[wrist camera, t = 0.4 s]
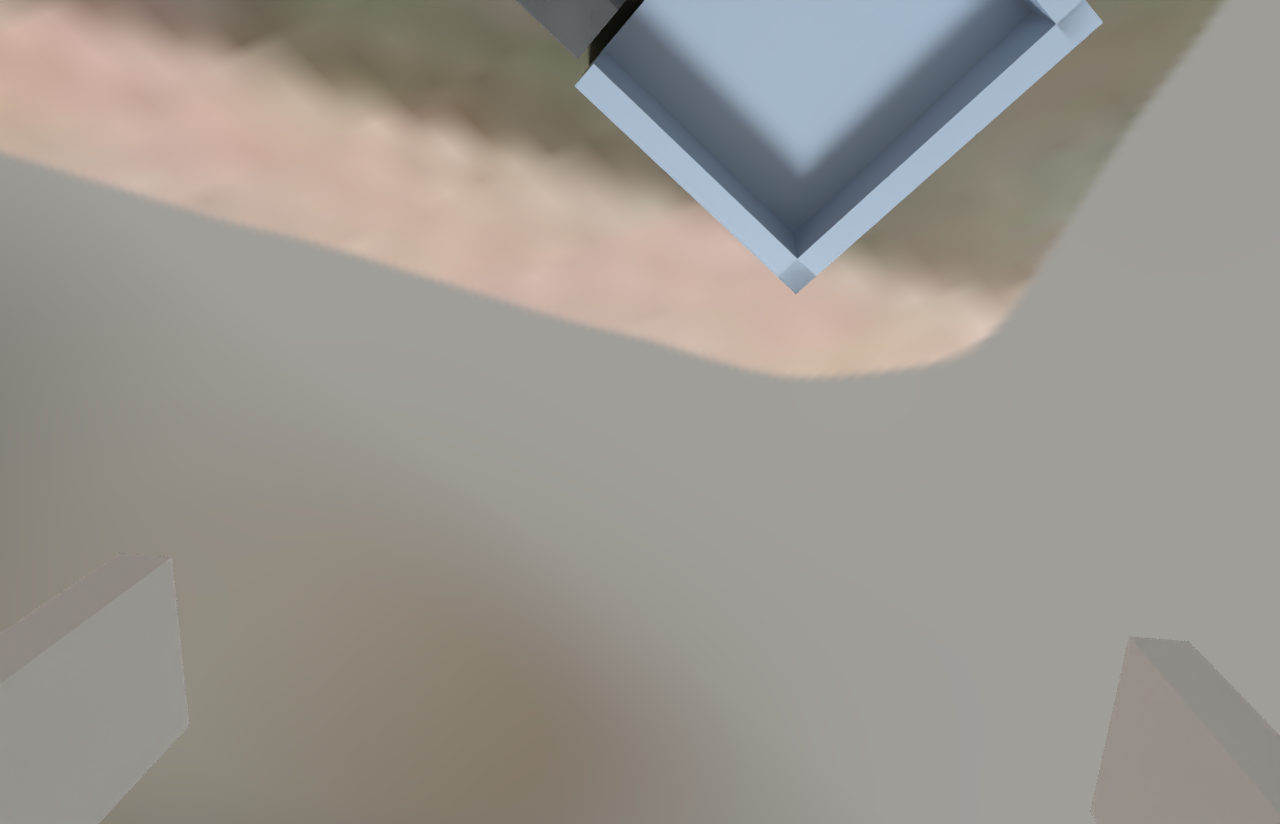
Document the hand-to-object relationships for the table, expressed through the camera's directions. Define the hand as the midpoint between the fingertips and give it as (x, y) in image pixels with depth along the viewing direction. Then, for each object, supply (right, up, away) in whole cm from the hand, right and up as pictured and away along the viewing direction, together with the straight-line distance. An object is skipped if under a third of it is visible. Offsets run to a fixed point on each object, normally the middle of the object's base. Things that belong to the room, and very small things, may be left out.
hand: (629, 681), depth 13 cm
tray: (+7, +17, +20) cm, 27 cm away
